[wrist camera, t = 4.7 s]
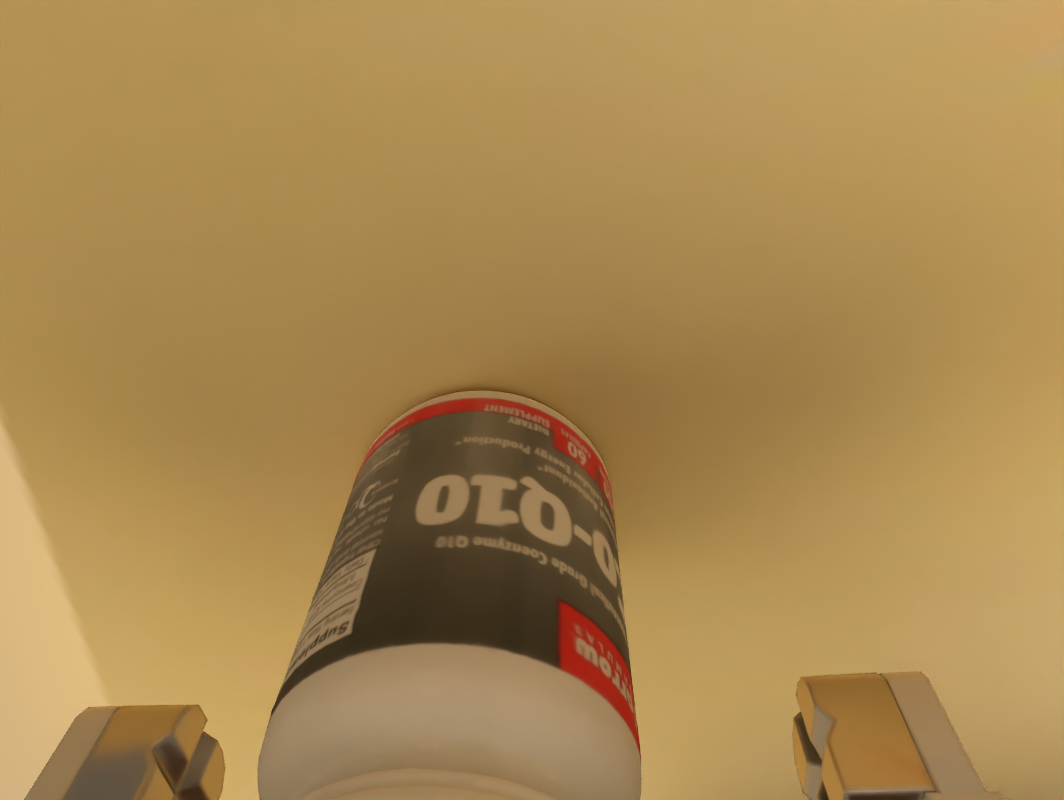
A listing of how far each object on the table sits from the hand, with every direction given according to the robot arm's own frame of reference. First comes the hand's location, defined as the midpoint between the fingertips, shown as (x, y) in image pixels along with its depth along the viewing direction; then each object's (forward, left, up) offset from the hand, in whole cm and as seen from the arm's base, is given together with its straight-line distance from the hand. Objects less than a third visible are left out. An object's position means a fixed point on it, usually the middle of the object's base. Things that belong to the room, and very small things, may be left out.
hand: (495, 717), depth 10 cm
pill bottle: (0, 0, -5) cm, 5 cm away
